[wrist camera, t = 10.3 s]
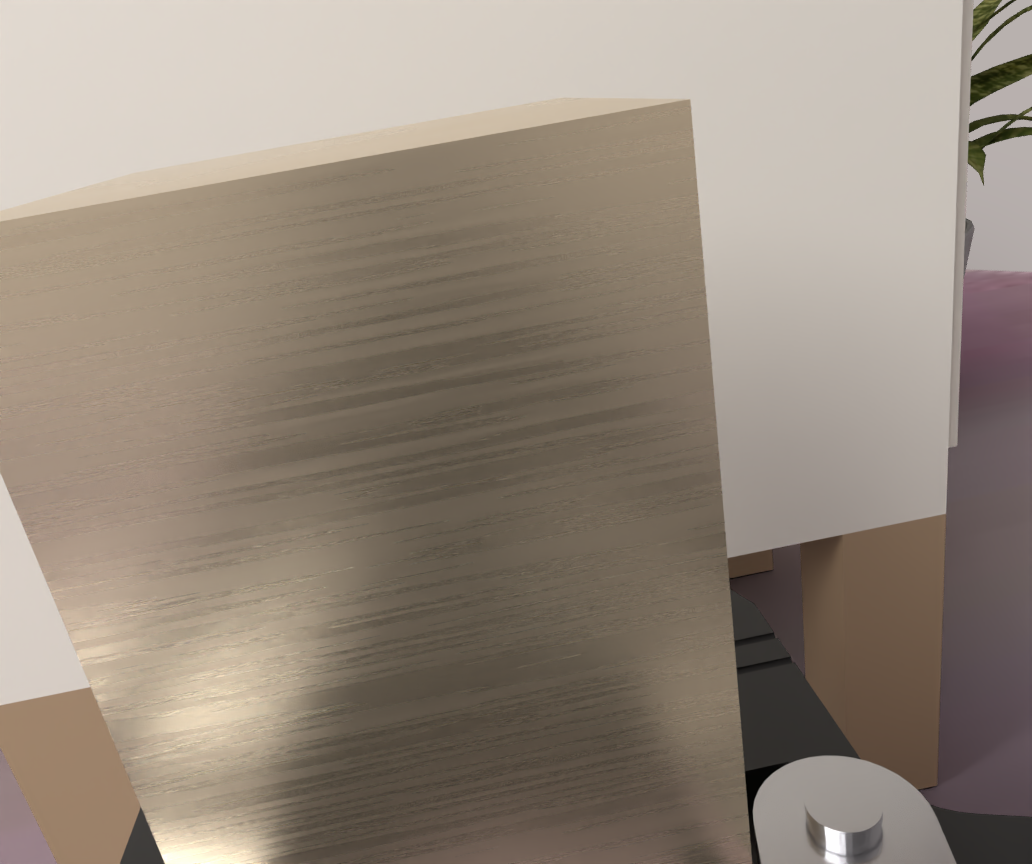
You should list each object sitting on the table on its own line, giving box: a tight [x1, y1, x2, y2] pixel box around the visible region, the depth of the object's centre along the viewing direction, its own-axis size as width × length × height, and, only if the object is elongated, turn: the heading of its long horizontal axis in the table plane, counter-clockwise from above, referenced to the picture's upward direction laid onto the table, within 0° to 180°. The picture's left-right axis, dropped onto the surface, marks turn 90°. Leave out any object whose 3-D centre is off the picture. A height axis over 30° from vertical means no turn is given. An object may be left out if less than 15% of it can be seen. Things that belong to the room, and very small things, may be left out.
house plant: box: [963, 0, 1032, 279], centre depth 31 cm, size 14×14×16 cm
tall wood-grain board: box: [0, 98, 752, 864], centre depth 15 cm, size 4×20×13 cm, turn 7°
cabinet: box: [0, 0, 974, 864], centre depth 17 cm, size 18×11×21 cm, turn 97°
